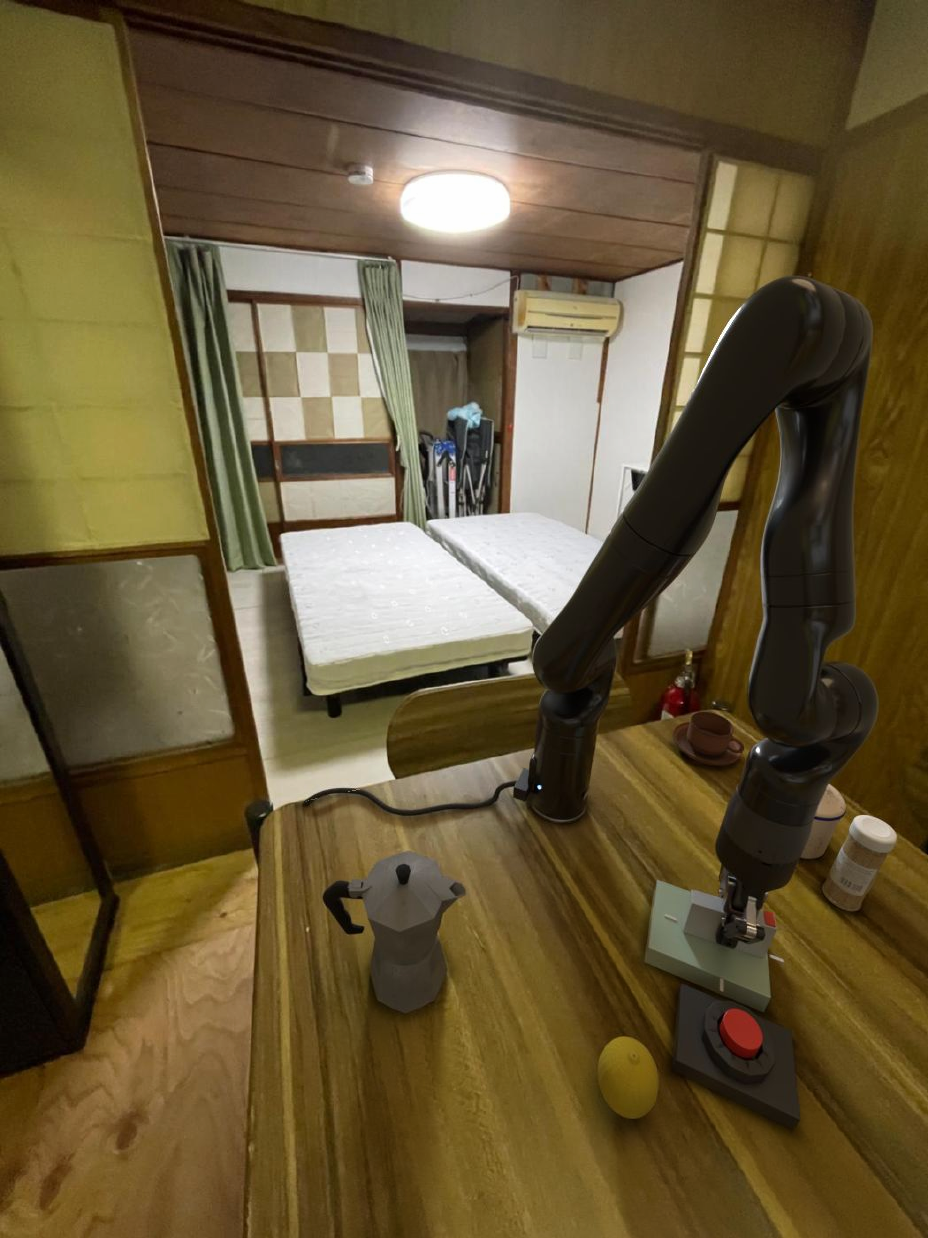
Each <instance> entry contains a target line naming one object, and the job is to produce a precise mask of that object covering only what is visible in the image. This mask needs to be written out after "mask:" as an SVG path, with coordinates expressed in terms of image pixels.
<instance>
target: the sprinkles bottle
mask: <svg viewBox="0 0 928 1238" xmlns="http://www.w3.org/2000/svg"><path fill="white" fill-rule="evenodd" d="M897 841H898V835H897V832H896V831H895V829H894V828H892V826H891V825H889V824H888V823H886V822H885V821H883V820H881V819H880V818H877V817H875V816H872V815H867V814H861V815H857V816H854V818H853V820H852V822H851V823H850V826H849V830H848V834H847V836H846V837H845V841H844V842H843V844H842V845H841V847H840V849H839V852H838V854H837V856H836V858H835V860H834V861H833V864H832V866H831V867H830V870H829V873H828V875H827V878H826V879H825V881H824V883H822V885H821V890H822V893H823V895H824V896H825V898H826V899H827V901H829V902H830V903H831V904H832V905H834V906H835V907H837V908H839V909H841V910H843V911H847V912H856V911H859V910H860V909H861V907H862V904H863V903H862V902H863V901H864V899H865V897H866V895H867V894H868V893H869V891H870V890H871V888H872V886H873V884H874V882H875V881H876V879H877V875H878V874H879V872H880V870H881V868H882V866H883V864H884V862H885V860H886V858H887V856H888V854H889V853H891V852H892V851H893V849H894V848H895V846H896V844H897Z"/></svg>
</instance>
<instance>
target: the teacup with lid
mask: <svg viewBox="0 0 928 1238" xmlns="http://www.w3.org/2000/svg"><path fill="white" fill-rule="evenodd" d="M846 805H847V804H846V801H845V799H844V797H843V795H842V794H841V793H840V792H839V790H837V789H836V787H834V786H833V785H831V784H830V783H829V784H828V786H827V788H826V791H825V793H824V796H823V798H822V801H821V803H820V805H819V808H818V810H817V812H816V815H815V817H814V819H813V823H812V829H811V833H810V836H809V839H808V841H807V843H806V846H805V848H804V850H803V852H802V855H801V857H800V859H805V860H811V859H812V860H813V859H817V858H820V857H822V856H823V855H824V854H825V852H826V850H827V848H828V846H829V844H830V842H831V840H832V837H833V835H834V834H835V831H836V829H837V828H838V825H839V822H840V820H841V819H842V818H844V816H845V815H846V813H847V806H846Z"/></svg>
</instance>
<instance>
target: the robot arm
mask: <svg viewBox="0 0 928 1238" xmlns="http://www.w3.org/2000/svg"><path fill="white" fill-rule="evenodd" d="M873 339H874V328H873V320H872V317H871V315H870V312H869V310H868V309H867V308H866V306H865V305H864V304H863V303H862V302H861V301H860V300H859V299H858V298H856V297H854V296H852V295H851V294H849V293H848V292H845V291H843V290H840V289H838V288H837V287H835V286H834V287H833V286H831V285H828V284H826V283H824V282H821V281H819V280H817V279H814V278H811V277H808V276H803V275H786V276H782V277H779V278H776V279H774V280H772V281H770V282H768V283H766V284H764V285H763V286H761V287H760V288H759V289H757V290H756V291H755V292H753V293H752V294H751V295H750V296H749V297H748V298H747V299H746V300H745V301H744V302H743V303H742V304H741V305H740V307H739V308H738V309H737V310H736V311H735V312H734V314H733V315H732V317H731V318H730V319H729V321H728V323H727V324H726V326H725V327H724V329H723V331H722V332H721V334H720V336H719V338H718V339H717V342H716V343H715V345H714V348H713V350H712V351H711V353H710V354H709V357H708V359H707V361H706V363H705V365H704V367H703V369H702V372H701V373H700V375H699V377H698V380H697V382H696V384H695V386H694V387H693V390H692V392H691V393H690V395H689V398H688V400H687V402H686V403H685V405H684V407H683V409H682V411H681V414H680V415H679V417H678V419H677V421H676V423H675V425H674V427H673V428H672V430H671V432H670V433H669V436H668V437H667V439H666V440H665V442H664V444H663V446H661V448H660V451H659V452H658V453H657V456H656V457H655V459H654V460H653V462H652V464H651V465H650V467H649V468H648V471H647V472H646V474H645V476H643V479H642V481H641V482H640V484H639V486H637V488H636V490H635V492H634V493H633V494H632V496H631V497H630V499H629V500H628V501H627V503H626V505H625V506H624V508H623V510H622V511H621V513H620V514H619V516H618V518H617V519H616V521H615V522H614V524H613V525H612V527H611V528H610V530H609V532H608V534H607V536H606V537H605V539H604V541H603V543H602V545H601V546H600V548H599V550H598V552H597V553H596V554H595V556H594V558H593V559H592V561H591V562H590V564H589V566H588V567H587V570H586V571H585V573H584V574H583V576H582V578H581V580H580V581H579V583H578V585H577V587H576V588H575V590H574V592H573V593H572V595H571V596H570V598H569V599H568V601H567V602H566V604H565V605H564V607H563V608H562V609H561V610H560V611H559V613H558V614H557V615H556V616H555V618H554V619H553V620H552V621H551V622H550V624H549V625H548V626H547V627H546V628H545V630H544V631H543V632H542V634H541V635H540V636H539V637H538V639H537V640H536V642H535V644H534V647H533V650H532V655H531V662H532V663H531V664H532V670H533V674H534V676H535V678H536V680H537V682H538V683H539V684H540V685H541V686H542V687H543V688H544V689H545V690H544V692H543V693H542V695H541V696H540V698H539V701H538V705H537V717H536V718H537V719H536V728H535V737H534V748H533V753H532V755H531V757H530V759H529V763H528V769H527V768H525V767H523V768H522V771H521V772H520V774H519V776H518V778H517V779H516V780H512V781H507V782H502V783H501V784H500V785H498V786H497V787H496V788H495V789H494V792H493V795H492V797H490V798H488V799H486V800H483V801H481V802H475V803H462V802H461V803H460V802H458V803H456V802H455V803H444V804H443V803H442V804H438V805H432V806H428V807H424V808H416V809H401V808H395V807H393V806H390V805H388V804H386V803H385V802H384V801H381V799H380V798H378V797H377V796H376V795H374V794H373V793H371V792H369V791H367V790H365V789H362V788H359V789H360V790H356V789H358V788H357V787H356V788H355V787H334V788H327V789H324V790H321V791H318V792H316V793H313V794H312V795H310V796H309V797H308V798H306V799H305V800H304V801H303V802H302V803H301V805H302V807H307V806H309V805H310V804H312V803H313V802H314V801H316V800H317V799H315V798H318V799H321V798H323V797H326V796H330V795H336V794H352V795H359V796H363V797H365V798H367V799H369V800H370V801H371V802H373V803H374V804H375V805H377V806H378V807H379V808H381V809H382V810H383V811H385V812H387V813H389V814H392V815H396V816H402V817H403V816H404V817H413V816H422V815H427V814H432V813H437V812H442V811H449V810H476V809H483V808H486V807H490V806H491V805H493V804H494V803H496V802H497V801H498V800H499V797H500V794H501V792H502V791H503V790H505V789H508V788H513V789H512V790H513V792H512V798H513V799H516V800H518V801H522V802H525V806H526V807H529V808H531V809H532V811H533V813H535V814H536V815H537V816H538V817H540V818H541V819H543V820H545V821H546V822H550V823H553V824H559V825H565V824H567V825H568V824H572V823H574V822H578V820H580V819H581V818H582V817H583V816H584V815H585V813H586V810H587V802H588V794H589V792H591V786H592V785H590V782H591V775H592V770H593V763H594V758H595V752H596V746H597V739H598V734H599V727H600V721H601V718H602V716H603V714H604V712H605V710H606V708H607V706H608V704H609V700H610V696H611V691H612V686H613V681H614V677H615V673H616V667H617V660H618V649H617V648H618V647H617V643H616V638H615V636H616V635H617V634H618V633H619V632H620V631H621V630H622V629H623V628H624V627H625V626H627V624H629V623H630V622H631V621H632V620H633V619H634V618H635V617H636V616H638V615H639V614H641V612H643V611H644V610H645V609H646V608H647V607H649V605H651V604H652V603H653V602H654V601H655V600H656V599H657V598H658V597H659V596H660V595H661V594H662V593H663V592H665V591H666V589H668V587H670V585H672V584H673V582H674V581H675V580H676V579H677V578H678V577H679V576H680V574H681V573H682V572H683V571H684V570H685V568H686V567H687V566H688V565H689V563H690V562H691V561H692V559H693V558H694V557H695V556H696V554H697V553H698V552H699V550H700V549H701V547H702V546H703V545H704V543H705V541H706V540H707V539H708V537H709V535H710V533H711V532H712V528H713V527H714V526H713V525H714V524H715V520H716V516H717V514H718V510H719V505H720V501H721V497H722V493H723V490H724V487H725V482H726V480H727V478H728V475H729V473H730V472H731V469H732V467H733V465H734V463H735V462H736V460H738V459H737V458H738V457H739V456H740V454H741V452H742V451H743V450H744V449H745V447H746V446H747V445H748V443H749V442H750V440H751V439H752V438H753V437H754V436H755V434H756V433H757V432H758V430H759V429H760V428H761V426H762V425H763V424H764V423H765V422H766V421H767V419H768V418H769V417H770V416H771V415H772V414H773V412H775V416H776V420H777V427H778V432H779V441H780V442H779V444H780V461H779V469H778V476H777V481H776V485H775V491H774V494H773V498H772V500H771V504H770V507H769V511H768V513H767V514H768V515H767V518H766V521H765V525H764V530H763V535H762V540H761V550H760V585H761V586H760V587H761V589H760V590H761V604H762V605H761V607H762V623H761V626H760V627H761V628H760V630H759V632H758V633H759V634H758V637H757V641H756V644H755V649H754V653H753V657H752V662H751V666H750V671H749V675H748V680H747V687H746V702H747V708H748V711H749V715H750V718H751V719H752V722H753V724H754V725H755V728H757V730H758V731H759V732H760V733H761V735H762V736H763V737H765V738H763V739H761V740H759V741H757V742H756V743H755V744H753V746H751V748H750V750H749V751H748V753H747V755H746V758H745V760H744V764H743V767H742V770H741V772H740V776H739V777H738V782H737V784H736V787H735V789H734V790H733V792H732V794H731V796H730V798H729V801H728V802H727V806H726V808H725V809H726V810H725V812H724V816H723V818H722V821H721V824H720V827H719V831H718V833H717V837H716V839H715V845H714V850H715V854H716V856H717V859H718V861H719V863H720V869H719V874H718V882H719V884H720V885H719V886H720V887H719V890H718V897H720V898H723V899H722V905H723V911H724V912H723V915H722V917H721V921H720V924H719V927H718V929H717V932H716V935H715V937H716V942H717V943H718V944H720V945H722V946H725V947H728V948H731V949H734V948H736V946H737V944H738V941H741V942H744V943H745V944H748V945H750V944H753V943H757V942H760V941H763V940H764V937H765V930H764V928H763V927H761V925H760V924H759V923H756V920H757V917H758V914H759V911H760V910H762V909H763V907H764V904H765V903H766V902H767V900H768V896H769V893H770V892H772V891H776V890H780V889H782V888H784V887H786V886H787V885H788V884H789V883H790V881H791V879H792V877H793V875H794V872H795V871H796V868H797V865H798V864H799V861H800V859H801V858H800V857H801V855H802V852H803V850H804V848H805V846H806V843H807V841H808V839H809V836H810V833H811V829H812V823H813V819H814V817H815V815H816V812H817V810H818V808H819V805H820V803H821V801H822V798H823V796H824V793H825V791H826V788H827V786H828V784H830V783H831V782H832V781H833V779H834V778H835V777H836V776H837V775H838V774H839V773H840V772H841V771H842V770H843V769H844V768H845V767H846V765H848V763H849V762H850V760H851V759H852V758H853V756H855V754H856V753H857V752H858V750H859V749H861V747H862V746H863V744H864V743H865V742H866V740H867V738H868V737H869V735H870V734H871V733H872V730H873V728H874V726H875V724H876V722H877V719H878V714H879V706H880V705H879V704H880V703H879V696H878V691H877V688H876V685H875V684H874V682H873V681H872V679H871V678H870V676H869V675H868V674H867V673H866V672H865V671H864V670H862V669H861V668H859V667H858V666H855V665H854V664H851V663H850V662H846V661H840V660H825V657H826V654H827V651H828V649H829V647H831V646H832V644H833V643H834V642H836V641H838V640H839V639H841V638H843V637H845V636H846V635H848V634H849V633H850V632H851V631H852V630H853V628H854V627H855V625H856V618H857V601H856V600H857V595H856V593H857V591H856V570H855V569H856V567H855V564H856V563H855V541H854V540H855V537H854V536H855V534H854V507H855V506H854V504H855V484H856V482H855V481H856V468H857V457H858V448H859V440H860V430H861V421H862V412H863V407H864V401H865V394H866V390H867V384H868V377H869V371H870V364H871V357H872V349H873ZM352 790H356V791H352ZM348 791H350V792H348ZM311 799H315V800H311ZM308 800H309V801H308ZM306 801H307V802H306ZM732 915H735V917H732ZM736 916H738V917H736ZM740 917H741V918H740Z"/></svg>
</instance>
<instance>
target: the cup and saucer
mask: <svg viewBox="0 0 928 1238" xmlns="http://www.w3.org/2000/svg"><path fill="white" fill-rule="evenodd" d="M734 730H735V729H734V725H733V724H732V722H731V721H729V720H728V719H727V718H726V717H724V716H723V715H720V714H718V713H715V712H711V711H698V712H694V713H693V714H692V715H691V716H690V720H689V721H687V722H683V723H680V724H678V725H677V726H676V727H675V728H674V730H673V733H672V737H673V741H674V744H675V745H676V747H677V748H678V749H679V750H680V751H681V752H682V753H683V754H685V755H686V756H687V757H689V758H691V759H692V760H694V761H696V762H698V763H702V764H705V765H710V766H718V767H719V766H729V765H732V764H734V763H736V762H738V761H739V759H740V758H741V757H742V754H743V752H744V751H745V744H744V743H743V741H742V740H740V739H739V738H737V737H735V736H734V735H733V734H734Z"/></svg>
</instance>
